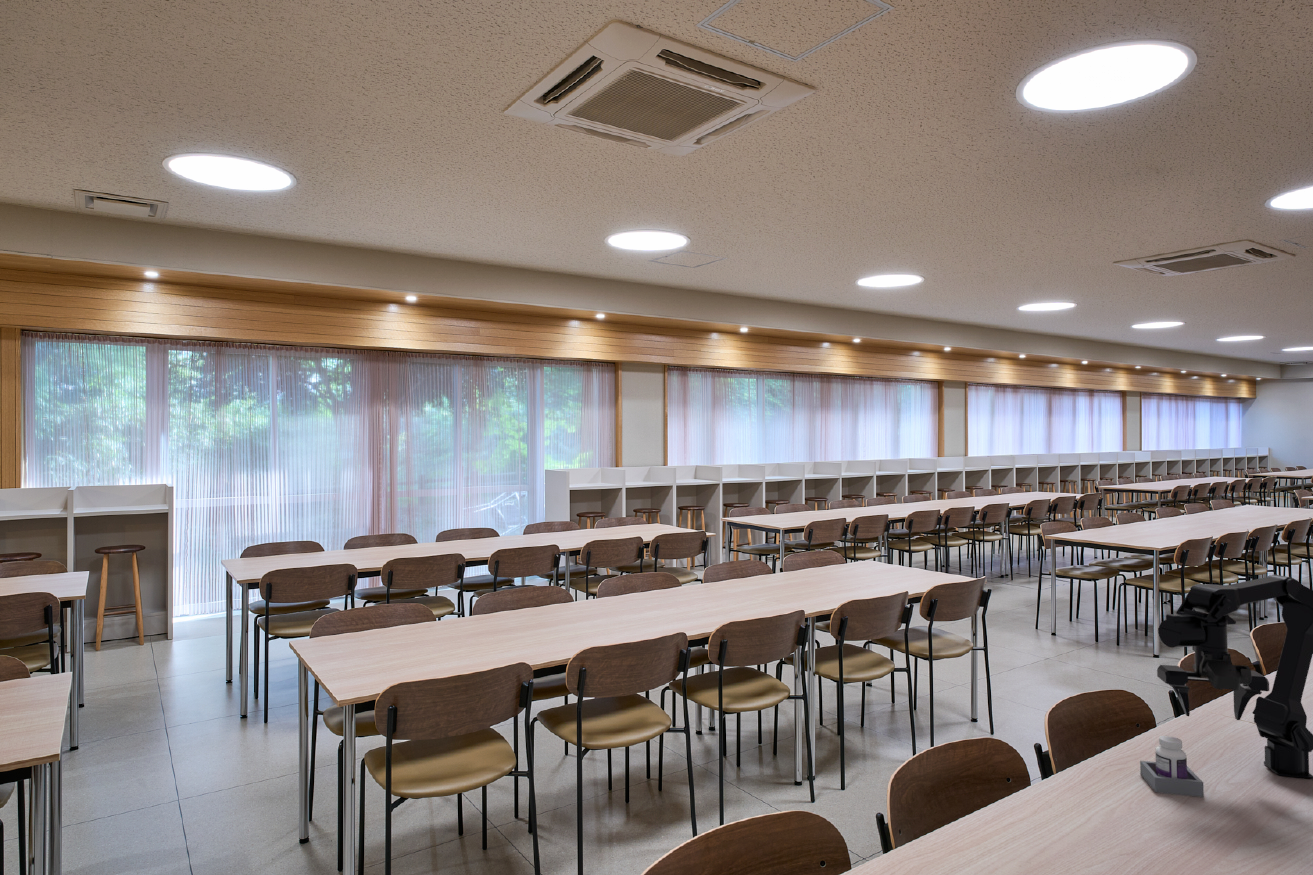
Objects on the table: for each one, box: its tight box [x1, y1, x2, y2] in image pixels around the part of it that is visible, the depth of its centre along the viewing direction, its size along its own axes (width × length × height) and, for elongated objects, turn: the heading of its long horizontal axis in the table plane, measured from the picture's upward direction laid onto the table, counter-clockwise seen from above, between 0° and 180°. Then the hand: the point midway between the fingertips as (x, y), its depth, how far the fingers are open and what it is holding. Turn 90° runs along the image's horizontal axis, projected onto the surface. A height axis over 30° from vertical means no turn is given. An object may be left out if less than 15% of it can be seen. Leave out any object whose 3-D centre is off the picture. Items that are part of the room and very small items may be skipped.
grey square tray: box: [1139, 760, 1205, 798], centre depth 155 cm, size 9×9×3 cm
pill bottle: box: [1155, 735, 1188, 779], centre depth 155 cm, size 5×5×10 cm
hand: (1212, 717), depth 158 cm, fingers open, 9 cm apart
